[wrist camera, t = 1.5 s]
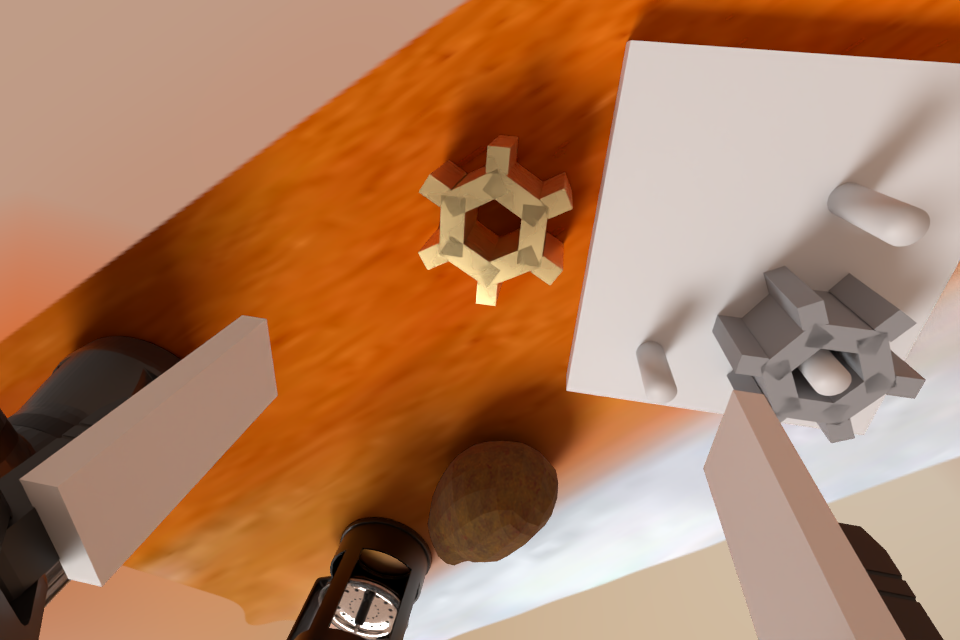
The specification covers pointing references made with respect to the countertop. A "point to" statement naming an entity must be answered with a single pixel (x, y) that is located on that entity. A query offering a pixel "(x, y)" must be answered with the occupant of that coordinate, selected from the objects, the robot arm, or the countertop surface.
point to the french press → (366, 586)
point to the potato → (491, 502)
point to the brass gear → (481, 246)
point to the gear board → (770, 231)
